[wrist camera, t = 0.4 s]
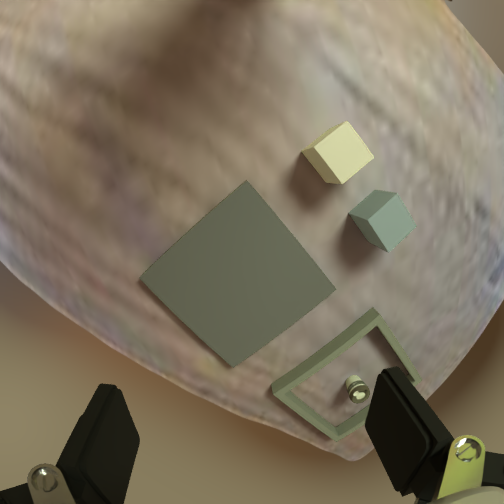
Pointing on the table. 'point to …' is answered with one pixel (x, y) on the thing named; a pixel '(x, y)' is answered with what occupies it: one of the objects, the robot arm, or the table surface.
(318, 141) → the cream block
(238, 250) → the baseplate
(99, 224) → the table surface
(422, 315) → the table surface
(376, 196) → the slate block
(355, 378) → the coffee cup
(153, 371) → the table surface
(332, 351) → the cup coaster rim
